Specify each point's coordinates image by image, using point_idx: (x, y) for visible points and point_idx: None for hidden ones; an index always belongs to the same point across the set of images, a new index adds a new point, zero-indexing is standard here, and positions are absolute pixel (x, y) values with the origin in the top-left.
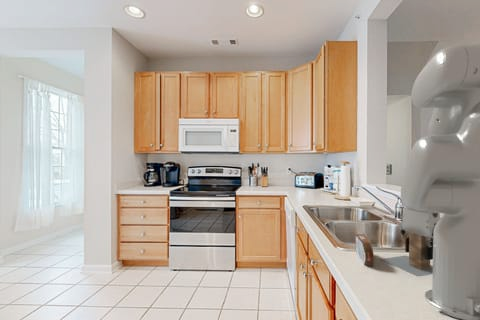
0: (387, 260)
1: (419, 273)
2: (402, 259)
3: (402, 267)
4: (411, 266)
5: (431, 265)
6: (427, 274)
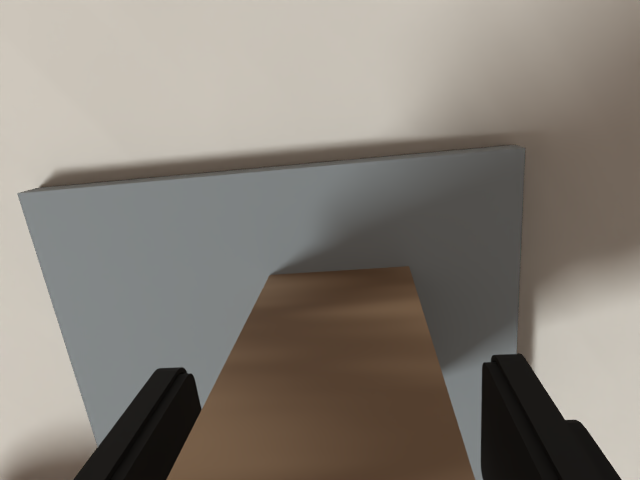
0: None
1: (471, 453)
2: (138, 330)
3: None
4: None
5: (341, 170)
6: None
